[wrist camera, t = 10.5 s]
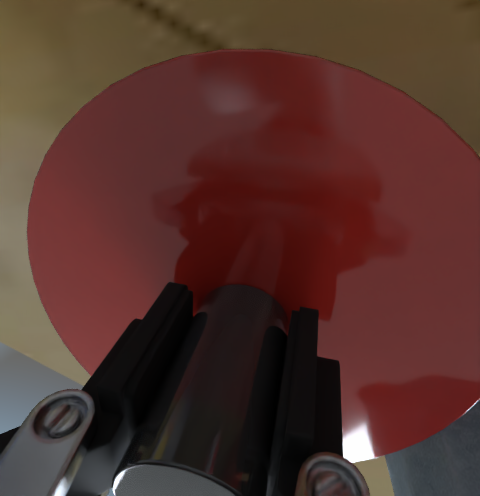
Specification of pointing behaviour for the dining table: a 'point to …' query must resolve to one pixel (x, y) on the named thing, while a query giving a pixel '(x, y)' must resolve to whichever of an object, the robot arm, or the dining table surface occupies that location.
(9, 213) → the dining table surface
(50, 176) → the lid
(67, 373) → the dining table surface
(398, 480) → the moka pot
